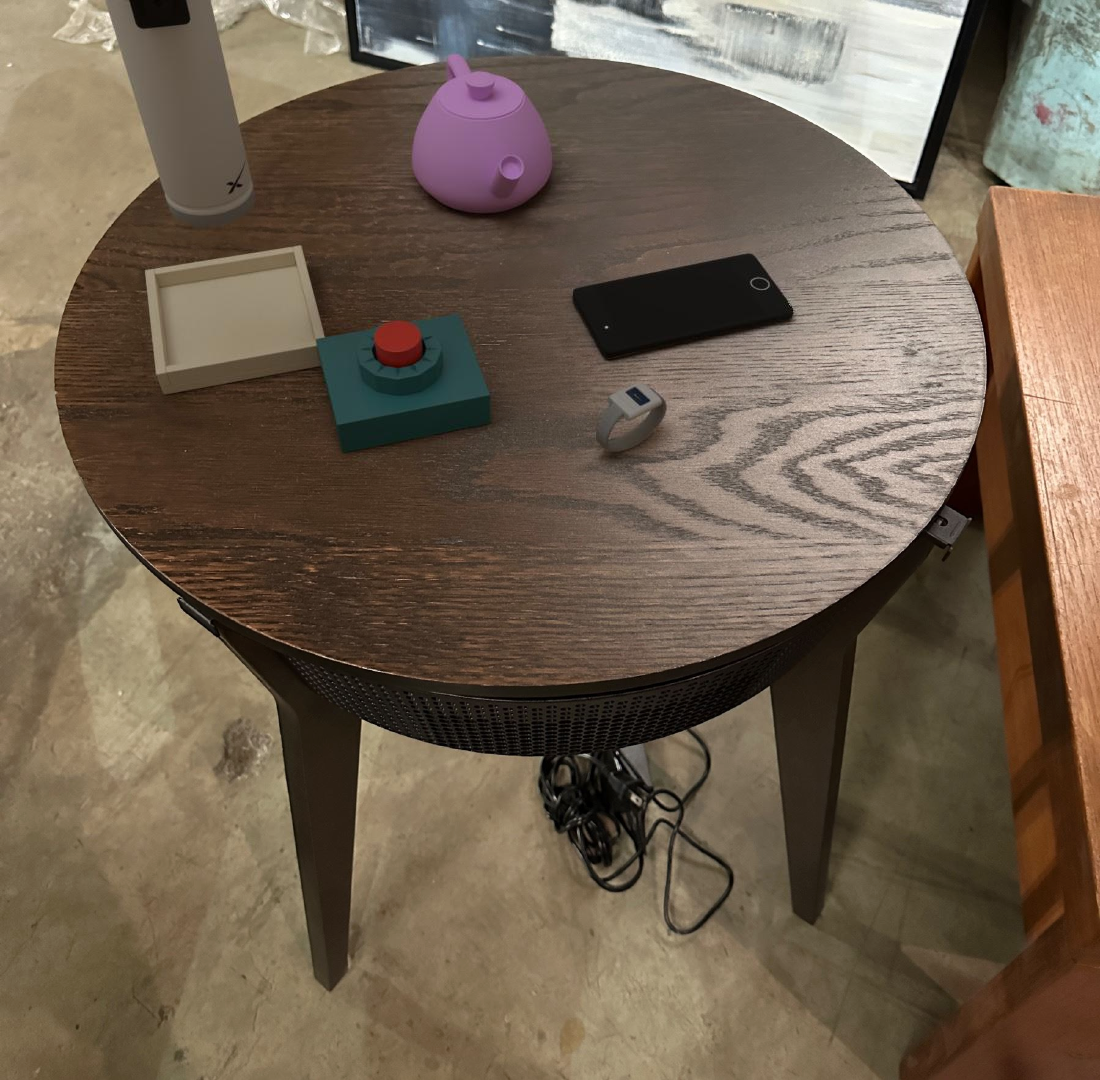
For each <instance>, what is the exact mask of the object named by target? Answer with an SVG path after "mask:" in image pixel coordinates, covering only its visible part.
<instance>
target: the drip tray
mask: <svg viewBox="0 0 1100 1080" xmlns="http://www.w3.org/2000/svg"><path fill="white" fill-rule="evenodd" d="M144 275H145V285H146V292H147V293H146V295H147V304H148V312H149V321H150V331H151V341H152V351H153V359H154V367H155V376H156V378H157V381H158V383H159V386H160V389H161V392H162V394H163V396H164V395H171V394H175V393H181V392H186V391H191V390H198V389H202V388H203V389H204V388H208V387H213V386H219V385H224V384H230V383H235V382H242V381H247V380H251V379H257V378H263V377H269V376H273V375H280V374H284V373H285V374H286V373H290V372H296V371H302V370H307V369H311V368H318V367H321V363H320V358H319V353H318V348H317V343H316V339H319V338H324V337H326V336H325V332H324V329H323V325H322V320H321V316H320V313H319V310H318V309H319V308H318V304H317V301H316V297H315V293H314V290H313V286H312V282H311V279H310V278H311V277H310V274H309V271H308V265H307V263H306V258H305V255H304V251H303V247H302V245H294V246H288V247H282V248H276V249H269V250H263V251H257V252H251V253H245V254H238V255H232V256H226V257H219V258H214V259H207V260H200V261H194V262H188V263H182V264H176V265H170V266H169V265H168V266H164V267H156V268H150V269H145V270H144Z"/></svg>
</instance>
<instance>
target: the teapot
mask: <svg viewBox="0 0 1100 1080" xmlns="http://www.w3.org/2000/svg"><path fill="white" fill-rule="evenodd" d="M445 69H446V70H445V71H446V79H447V81H446V82H445V83H444V84H442V85H441V86H440V87H439V88H438V90H437V91H436V92H435V94H434V95H433V96H432V98H431V100H430V102H429V103H428V105H427V107H426V108H425V110H424V112H423V113H422V115H421V117H420V120H419V122H418V124H417V127H416V130H415V132H414V137H413V141H412V150H411V151H412V152H411V166H412V172H413V174H414V176H415V178H416V180H417V181H418V183H419V185H420V186H421V187H422V188H423V189H424V190H425V192H427V193H428V194H429V195H430V196H432V197H433V198H434V199H436V200H437V201H438V202H439V203H441V204H443V205H444V206H446V207H449V208H451V209H454V210H457V211H460V212H464V213H471V214H493V213H501V212H505V211H509V210H512V209H515V208H517V207H519V206H521V205H523V204H525V203H526V202H528V201H529V200H530V199H532V198H533V197H534V196H535V195H536V194H537V193H538V192H539V191H540V190H541V189H542V188H543V187H544V186H545V184H547V182H548V180H549V178H550V176H551V173H552V170H553V151H552V146H551V145H552V144H551V141H550V138H549V133H548V130H547V129H546V125H545V123H544V121H543V119H542V117H541V115H540V114H539V112H538V110H537V108H536V107H535V105H534V104H533V103H532V101H531V99H530V98H529V97H528V95H527V94H526V92H525V91H524V90H523V89H522V88H521V86H520V85H518V84H517V83H516V82H515V81H513V80H511V79H509V78H507V77H504V76H500V75H497V74H492V73H490V72H488V71H483V70H482V71H481V70H480V71H479V70H478V71H477V70H476V71H473V72H472V70H471V67H470V66H469V64H468V62H467V60H466V59H465V58H464V57H463V56H462V55H461V54H458V53H451V54H449V55H448V56H447V58H446V61H445Z"/></svg>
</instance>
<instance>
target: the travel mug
mask: <svg viewBox="0 0 1100 1080" xmlns="http://www.w3.org/2000/svg"><path fill="white" fill-rule="evenodd" d="M104 1H105V2H104V3H105V5H106V8H107V10H108V11H107V12H108V15H109V18H110V22H111V25H112V27H113V31H114V34H115V37H116V41H117V44H118V48H119V50H120V53H121V56H122V60H123V63H124V66H125V69H126V73H127V77H128V80H129V83H130V86H131V90H132V92H133V97H134V100H135V103H136V106H137V108H138V112H139V115H140V118H141V122H142V125H143V128H144V132H145V135H146V138H147V141H148V145H149V148H150V151H151V155H152V158H153V162H154V164H155V165H154V166H155V167H156V171H157V174H158V177H159V180H160V184H161V187H162V190H163V192H164V196H165V200H166V203H167V206H168V210H169V211H170V214H171V215H172V216H173V217H174V218H175V219H176V220H177V221H179V222H181V223H183V224H185V225H188V226H191V227H195V228H217V227H223V226H226V225H229V224H232V223H235V222H237V221H238V220H241V219H242V218H244V216H246V215H247V214H248V213H249V212H251V210H252V209H253V207H254V205H255V202H256V193H255V188H254V184H253V179H252V177H251V171H250V170H251V169H250V166H249V162H248V158H247V154H246V149H245V145H244V141H243V140H244V139H243V136H242V131H241V128H240V127H241V126H240V123H239V119H238V114H237V110H236V104H235V101H234V96H233V92H232V88H231V82H230V79H229V74H228V71H227V65H226V61H225V57H224V52H223V48H222V44H221V40H220V39H221V38H220V35H219V30H218V27H217V22H216V18H215V13H214V9H213V4H212V0H186V1H187V5H188V9H189V13H190V22H189V23H188V24H185V25H176V26H167V27H158V28H149V29H141V28H139V27H138V26H137V25H136V23H135V19H134V16H133V12H132V9H131V5H130V2H129V0H104Z"/></svg>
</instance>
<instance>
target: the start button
mask: <svg viewBox="0 0 1100 1080" xmlns="http://www.w3.org/2000/svg"><path fill="white" fill-rule="evenodd" d="M409 322H410V321H405V320H393V321H389V322H386V323H383V324H384V325H382V324H381V325H382V326H381V327H379V328H378V329H377V331H376V333H375V335H374V341H375V348H376V355H377V358H378V360H379V361H380V362H381V363H382V364H384V365H386V366H388V367H394V368H402V367H408V366H411V365H413V364H415V363H416V362H417V361H419V359H420V358H421V356H422V352H423V351H422V340H421V332H420V330H419V329H418V328H417V327H416V326H415V325H414V324H412V323H409Z"/></svg>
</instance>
